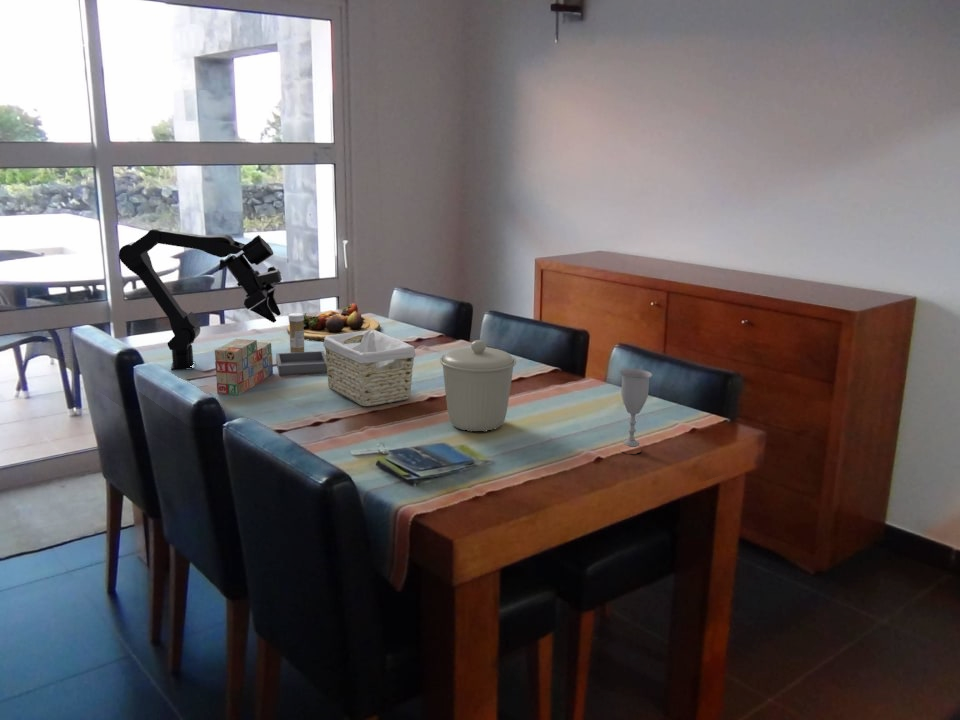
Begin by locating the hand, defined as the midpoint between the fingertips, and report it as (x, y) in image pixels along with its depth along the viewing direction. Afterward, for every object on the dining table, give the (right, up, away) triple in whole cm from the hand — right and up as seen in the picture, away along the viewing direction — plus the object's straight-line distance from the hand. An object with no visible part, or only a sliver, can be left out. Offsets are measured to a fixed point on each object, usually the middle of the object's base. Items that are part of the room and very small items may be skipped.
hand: (277, 318), depth 247 cm
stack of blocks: (-5, -19, -13) cm, 23 cm away
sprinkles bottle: (+3, -11, +15) cm, 19 cm away
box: (+7, -15, +3) cm, 16 cm away
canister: (+58, -28, -42) cm, 77 cm away
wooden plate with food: (+8, -2, +50) cm, 50 cm away
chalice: (+93, -33, -57) cm, 114 cm away
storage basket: (+29, -21, -19) cm, 41 cm away
